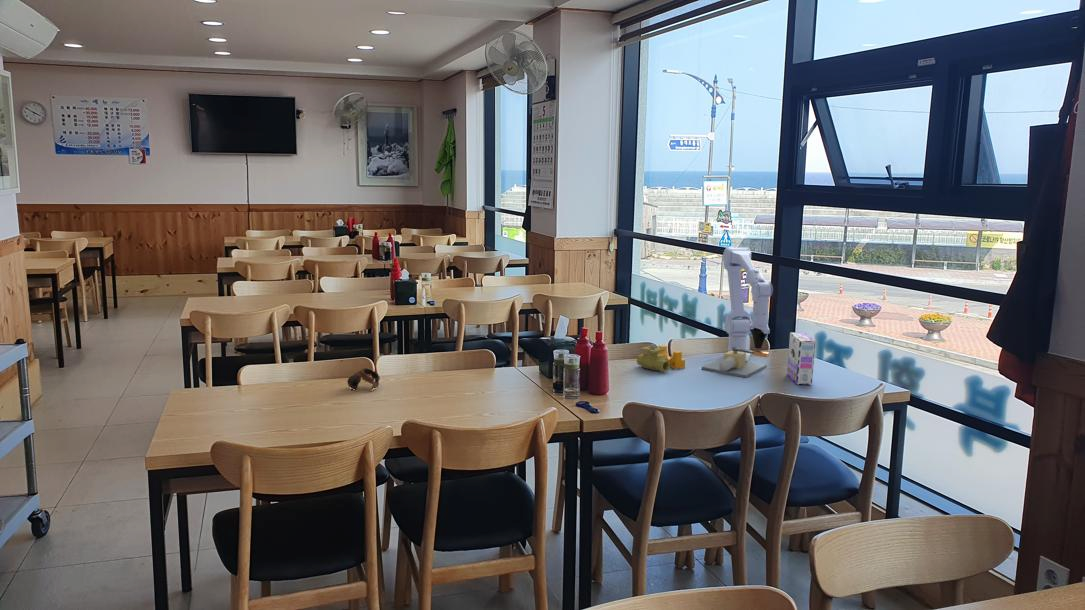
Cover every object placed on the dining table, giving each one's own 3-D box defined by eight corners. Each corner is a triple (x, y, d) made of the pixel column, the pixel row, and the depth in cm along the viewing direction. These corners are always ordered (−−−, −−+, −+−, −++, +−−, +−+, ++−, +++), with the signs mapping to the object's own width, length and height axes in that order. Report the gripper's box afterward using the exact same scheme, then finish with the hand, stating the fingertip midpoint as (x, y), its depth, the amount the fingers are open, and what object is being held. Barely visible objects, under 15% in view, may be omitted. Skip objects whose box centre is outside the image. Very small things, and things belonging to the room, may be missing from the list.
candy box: (812, 385, 294) (816, 341, 291) (796, 385, 294) (799, 340, 291) (802, 374, 307) (805, 332, 304) (786, 374, 308) (789, 331, 304)
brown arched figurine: (358, 385, 289) (370, 365, 287) (376, 400, 285) (387, 381, 283) (336, 385, 278) (347, 365, 277) (353, 401, 274) (365, 381, 273)
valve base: (723, 359, 328) (724, 342, 326) (766, 367, 317) (767, 349, 315) (701, 369, 313) (702, 351, 311) (746, 378, 302) (747, 359, 301)
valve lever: (730, 351, 313) (731, 347, 313) (733, 349, 315) (733, 346, 315) (766, 357, 305) (766, 353, 304) (769, 356, 307) (769, 352, 306)
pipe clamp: (684, 368, 315) (685, 351, 313) (675, 369, 313) (676, 352, 312) (666, 360, 325) (667, 344, 324) (657, 361, 323) (658, 345, 322)
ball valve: (634, 368, 313) (635, 342, 311) (651, 363, 320) (652, 338, 318) (659, 375, 304) (660, 349, 302) (677, 370, 311) (678, 344, 309)
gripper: (743, 309, 318) (741, 343, 321) (757, 317, 304) (755, 352, 307) (760, 309, 319) (758, 343, 322) (775, 317, 305) (773, 352, 308)
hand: (758, 347), depth 314 cm, fingers closed
